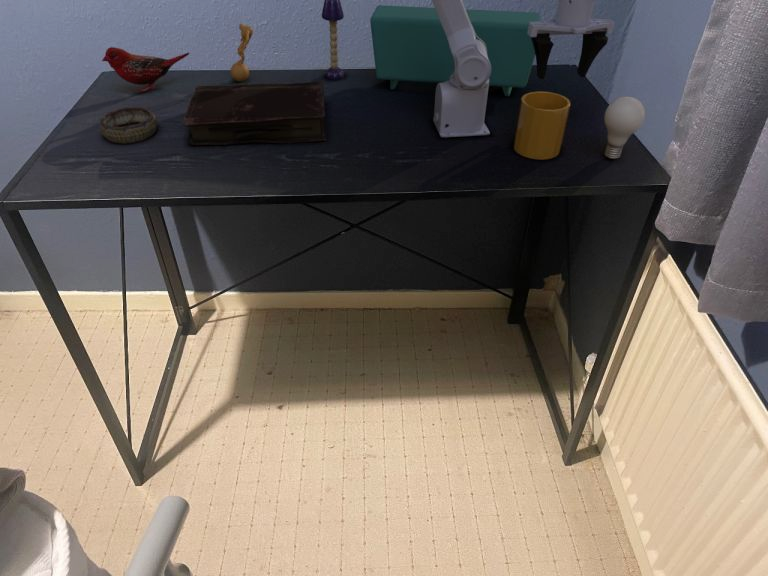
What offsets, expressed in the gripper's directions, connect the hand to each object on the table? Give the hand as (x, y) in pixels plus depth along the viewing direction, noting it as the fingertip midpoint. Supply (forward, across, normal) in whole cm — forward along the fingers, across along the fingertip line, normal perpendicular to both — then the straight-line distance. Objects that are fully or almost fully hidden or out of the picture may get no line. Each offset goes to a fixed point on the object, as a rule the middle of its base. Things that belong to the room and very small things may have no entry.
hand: (560, 76), depth 103 cm
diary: (+11, -55, +9) cm, 57 cm away
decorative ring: (+11, -79, +8) cm, 80 cm away
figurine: (+11, -59, +32) cm, 68 cm away
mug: (+10, -5, -6) cm, 13 cm away
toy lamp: (+11, -39, +32) cm, 52 cm away
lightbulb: (+11, +7, -12) cm, 18 cm away
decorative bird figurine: (+11, -78, +29) cm, 84 cm away
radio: (+11, -14, +23) cm, 29 cm away
